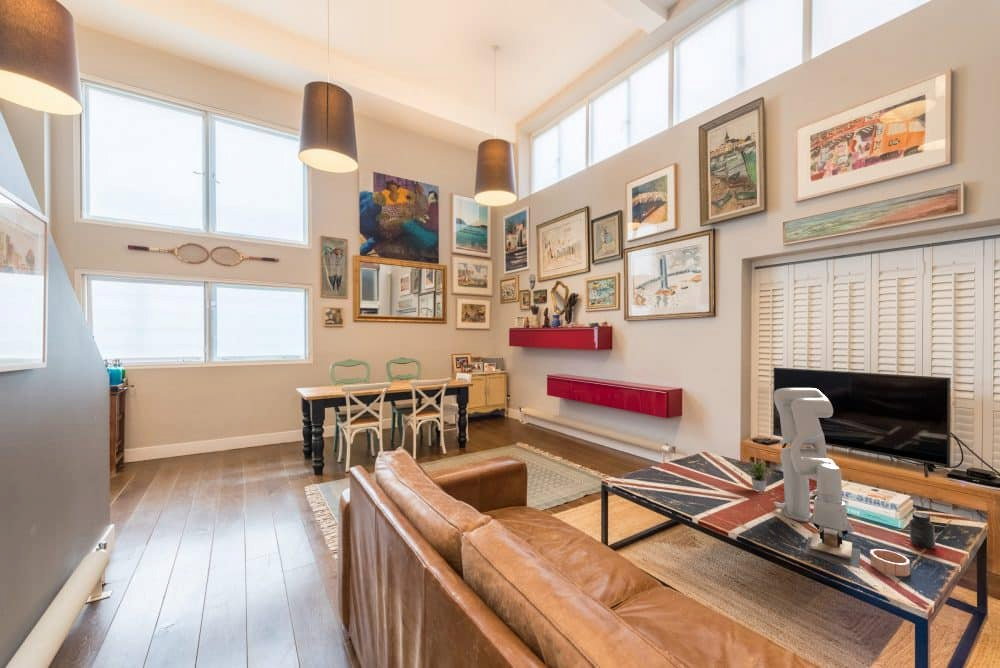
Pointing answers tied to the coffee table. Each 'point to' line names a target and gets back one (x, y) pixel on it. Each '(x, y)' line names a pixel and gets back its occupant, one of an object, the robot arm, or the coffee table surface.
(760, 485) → the house plant
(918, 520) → the supplement bottle
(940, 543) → the coffee table surface
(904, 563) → the bowl
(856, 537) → the coffee table surface
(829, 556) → the mat
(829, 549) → the lid
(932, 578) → the coffee table surface
